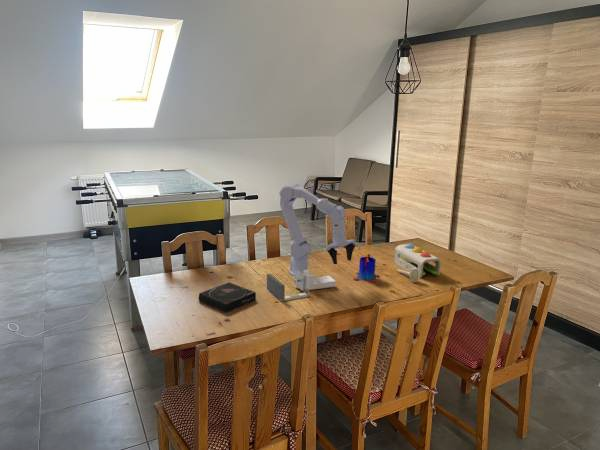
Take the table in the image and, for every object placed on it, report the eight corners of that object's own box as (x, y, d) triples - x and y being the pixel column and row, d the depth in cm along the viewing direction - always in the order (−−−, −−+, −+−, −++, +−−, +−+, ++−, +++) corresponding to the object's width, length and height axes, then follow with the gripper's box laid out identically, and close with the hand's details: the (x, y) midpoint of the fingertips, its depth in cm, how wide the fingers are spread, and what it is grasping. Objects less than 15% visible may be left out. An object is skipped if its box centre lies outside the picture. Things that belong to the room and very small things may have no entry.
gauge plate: (290, 284, 207) (290, 270, 205) (296, 283, 209) (297, 269, 207) (302, 294, 197) (302, 279, 195) (308, 292, 199) (309, 277, 197)
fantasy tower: (376, 284, 214) (378, 259, 211) (351, 280, 218) (353, 256, 215) (380, 275, 225) (382, 252, 222) (357, 272, 228) (358, 249, 225)
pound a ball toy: (382, 264, 241) (383, 242, 238) (412, 261, 247) (414, 239, 244) (411, 284, 215) (414, 259, 212) (445, 280, 221) (447, 256, 218)
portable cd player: (228, 290, 204) (228, 282, 203) (255, 301, 193) (255, 292, 192) (198, 301, 192) (198, 292, 191) (226, 313, 181) (226, 304, 180)
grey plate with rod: (266, 288, 205) (266, 274, 204) (292, 284, 211) (293, 269, 209) (281, 301, 193) (281, 285, 191) (308, 296, 198) (308, 281, 197)
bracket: (308, 291, 204) (309, 275, 202) (302, 286, 210) (303, 270, 208) (335, 288, 208) (336, 272, 206) (328, 282, 215) (329, 267, 213)
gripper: (330, 237, 202) (333, 267, 204) (357, 231, 208) (360, 260, 210) (322, 235, 208) (325, 264, 210) (349, 229, 214) (351, 257, 217)
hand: (342, 262), depth 211 cm, fingers open, 7 cm apart
